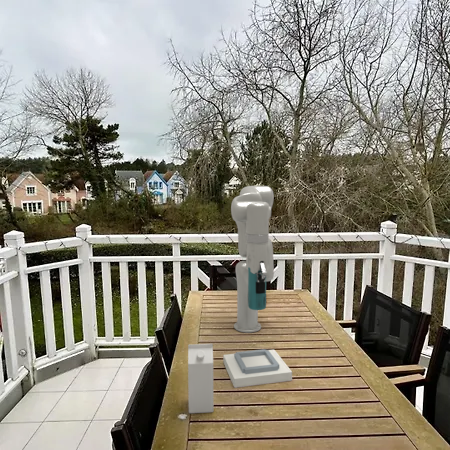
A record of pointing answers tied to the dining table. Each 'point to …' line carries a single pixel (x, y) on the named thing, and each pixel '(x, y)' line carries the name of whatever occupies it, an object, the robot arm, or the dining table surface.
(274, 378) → the display stand
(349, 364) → the dining table surface
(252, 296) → the beverage bottle
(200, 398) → the milk carton
